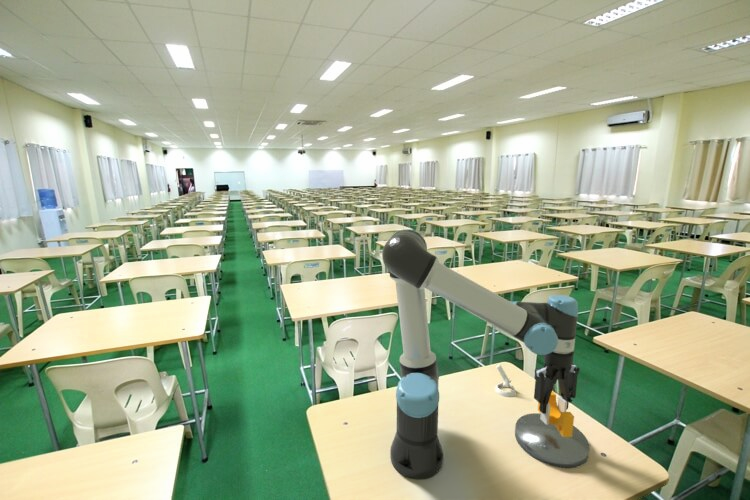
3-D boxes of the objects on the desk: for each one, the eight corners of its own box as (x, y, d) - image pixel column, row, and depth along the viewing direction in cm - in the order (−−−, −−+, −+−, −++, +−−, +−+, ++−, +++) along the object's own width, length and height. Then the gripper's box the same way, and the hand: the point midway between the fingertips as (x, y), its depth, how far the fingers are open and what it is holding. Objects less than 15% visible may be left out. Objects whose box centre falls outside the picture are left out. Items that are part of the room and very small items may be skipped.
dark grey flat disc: (544, 474, 93) (544, 466, 92) (502, 425, 112) (502, 418, 112) (605, 461, 97) (606, 453, 96) (555, 416, 116) (555, 409, 116)
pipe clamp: (537, 409, 108) (539, 391, 107) (551, 409, 108) (552, 391, 107) (556, 436, 96) (558, 416, 95) (572, 436, 96) (573, 416, 95)
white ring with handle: (484, 368, 137) (500, 360, 135) (501, 396, 135) (517, 389, 133) (483, 373, 131) (499, 365, 128) (500, 403, 128) (517, 396, 126)
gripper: (540, 358, 93) (534, 433, 98) (596, 350, 97) (588, 423, 101) (523, 346, 101) (518, 416, 105) (575, 339, 104) (569, 408, 109)
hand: (552, 420), depth 103 cm, fingers closed on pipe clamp, 5 cm apart
